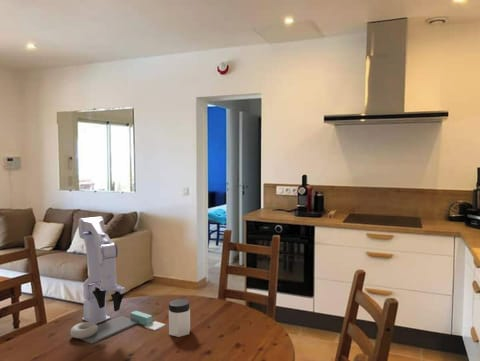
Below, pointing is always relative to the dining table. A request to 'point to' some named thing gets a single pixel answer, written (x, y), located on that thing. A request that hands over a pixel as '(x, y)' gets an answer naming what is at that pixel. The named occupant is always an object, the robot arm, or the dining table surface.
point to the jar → (179, 317)
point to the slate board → (110, 329)
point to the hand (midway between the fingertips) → (109, 308)
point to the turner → (146, 320)
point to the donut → (84, 330)
